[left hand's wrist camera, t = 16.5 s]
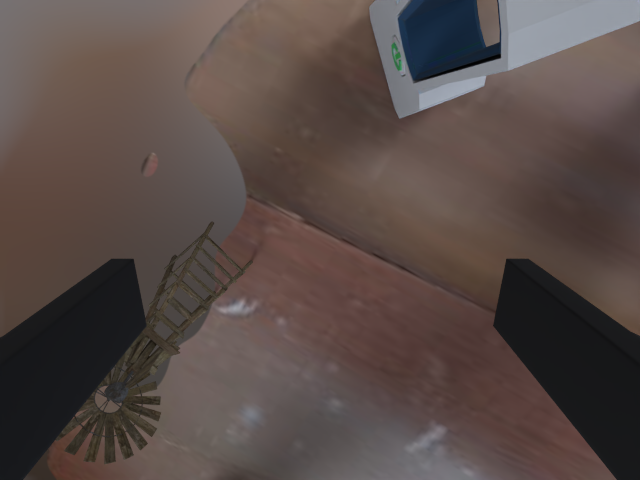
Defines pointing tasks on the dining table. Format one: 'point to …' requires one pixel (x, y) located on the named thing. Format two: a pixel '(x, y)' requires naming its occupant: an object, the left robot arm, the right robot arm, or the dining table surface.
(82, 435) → the miniature windmill
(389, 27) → the electronic device
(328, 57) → the dining table surface
